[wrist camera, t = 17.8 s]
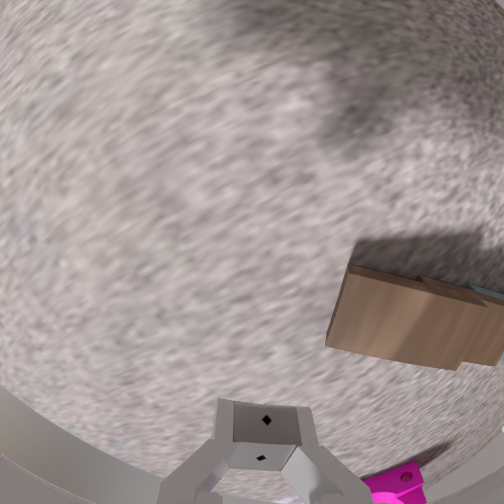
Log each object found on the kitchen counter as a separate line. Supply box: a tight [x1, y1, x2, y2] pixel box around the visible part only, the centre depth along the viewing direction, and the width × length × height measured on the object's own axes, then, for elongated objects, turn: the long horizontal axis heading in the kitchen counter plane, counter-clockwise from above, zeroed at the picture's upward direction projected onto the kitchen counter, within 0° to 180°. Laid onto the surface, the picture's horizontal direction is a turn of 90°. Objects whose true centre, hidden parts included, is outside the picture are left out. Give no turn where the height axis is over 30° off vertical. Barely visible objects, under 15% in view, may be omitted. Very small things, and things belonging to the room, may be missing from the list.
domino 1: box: [325, 264, 489, 371], centre depth 16 cm, size 2×5×10 cm
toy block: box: [362, 460, 427, 504], centre depth 25 cm, size 15×6×8 cm, turn 108°
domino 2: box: [417, 275, 504, 366], centre depth 16 cm, size 2×5×10 cm
